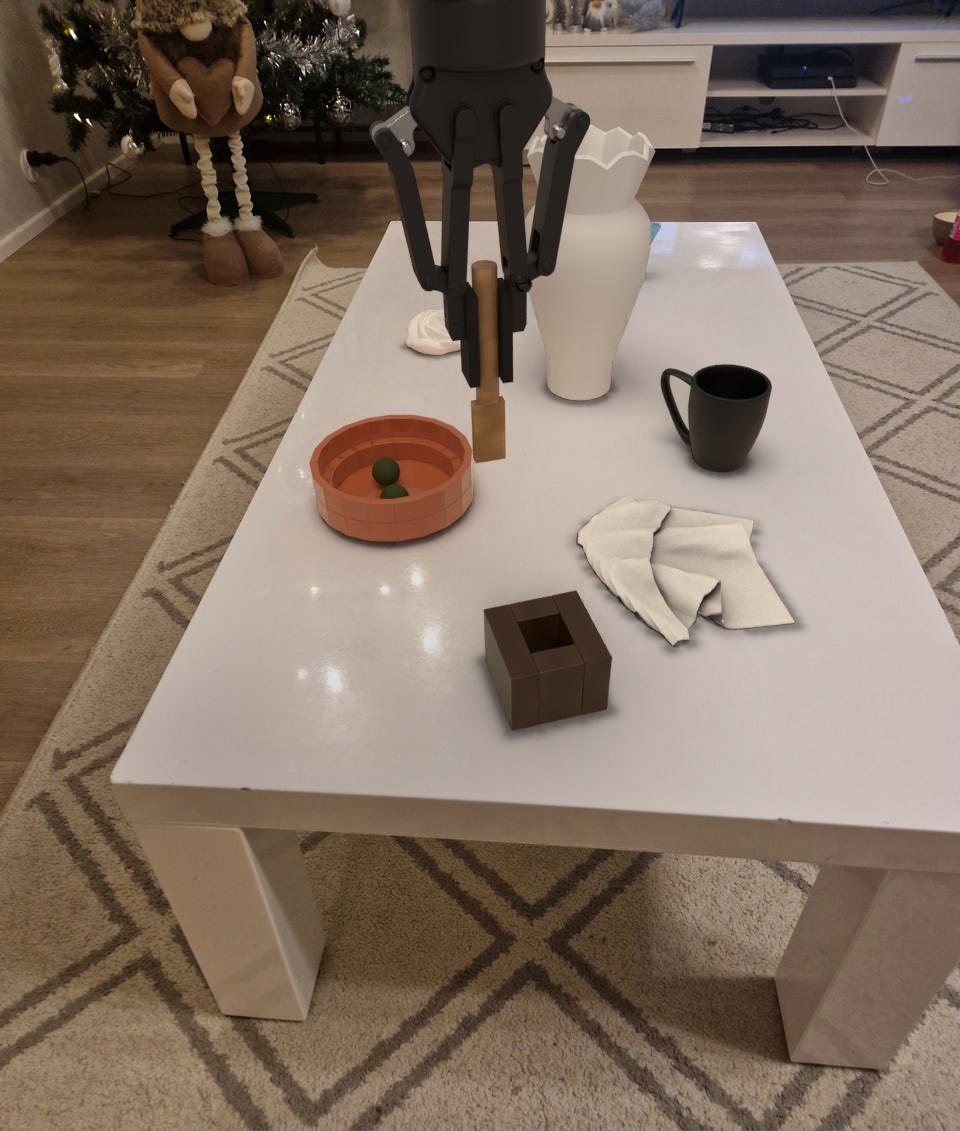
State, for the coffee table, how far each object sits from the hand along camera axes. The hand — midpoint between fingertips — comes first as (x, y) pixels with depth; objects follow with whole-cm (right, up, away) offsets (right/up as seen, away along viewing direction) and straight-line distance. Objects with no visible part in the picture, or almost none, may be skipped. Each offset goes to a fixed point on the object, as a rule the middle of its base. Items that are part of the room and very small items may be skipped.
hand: (487, 375), depth 61 cm
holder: (+5, -23, +10) cm, 26 cm away
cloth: (+19, -14, +21) cm, 31 cm away
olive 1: (-11, -3, +31) cm, 33 cm away
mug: (+25, -1, +36) cm, 44 cm away
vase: (+12, +9, +49) cm, 51 cm away
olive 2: (-9, -7, +27) cm, 29 cm away
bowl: (-9, -6, +31) cm, 33 cm away
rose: (-6, +18, +60) cm, 63 cm away
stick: (0, -5, +5) cm, 7 cm away
